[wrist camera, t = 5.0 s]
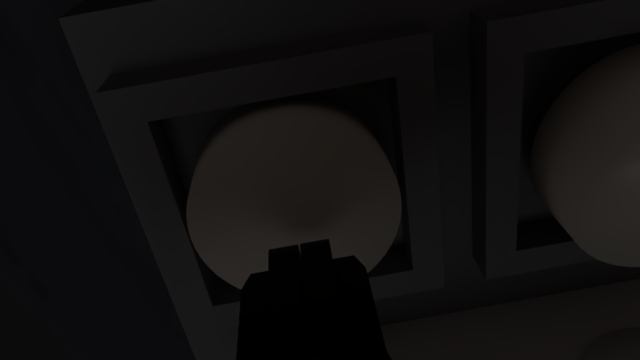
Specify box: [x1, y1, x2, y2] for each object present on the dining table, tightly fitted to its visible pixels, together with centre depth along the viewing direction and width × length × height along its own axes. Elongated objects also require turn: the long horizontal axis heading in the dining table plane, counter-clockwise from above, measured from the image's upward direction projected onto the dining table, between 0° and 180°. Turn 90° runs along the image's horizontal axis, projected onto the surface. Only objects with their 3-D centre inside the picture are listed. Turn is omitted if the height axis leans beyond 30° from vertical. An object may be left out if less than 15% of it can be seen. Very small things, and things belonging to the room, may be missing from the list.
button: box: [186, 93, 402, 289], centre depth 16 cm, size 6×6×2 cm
